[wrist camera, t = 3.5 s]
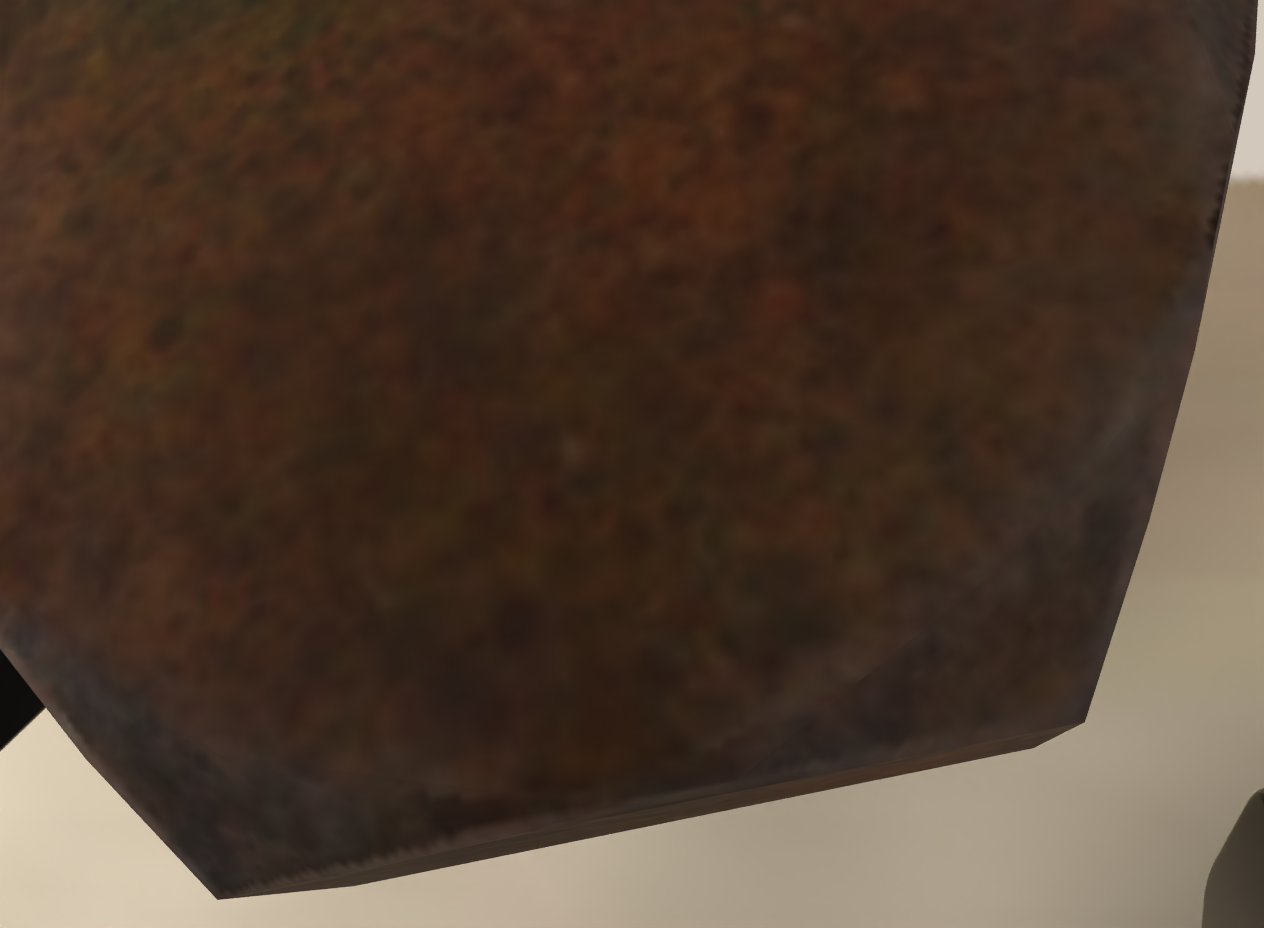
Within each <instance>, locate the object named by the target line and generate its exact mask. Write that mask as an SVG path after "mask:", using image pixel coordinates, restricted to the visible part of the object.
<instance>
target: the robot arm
mask: <svg viewBox="0 0 1264 928" xmlns="http://www.w3.org/2000/svg"><path fill="white" fill-rule="evenodd" d="M45 708H46V707H45V706H44V704H43V703H42V702H41V701H40V699H39V698H38V697H37V695H36V694H35V693H34V692H33V690H32V689H31V688H30V686H29V685H28V684H27V683H26V681H25V680H24V679H23V677H22V676H21V675H20V674H19V672H18V671H17V670H16V668H15V667H14V666H13V665H12V663H11V662H10V661H9V659H8V658H7V657H6V656H5V654H4V653H3V652H2V650H1V649H0V751H1V750H2V749H4V748H5V747H6V746H7V745H8V744H9V743H10V742H11V741H12V740H13V739H14V738H15V737H16V736H17V735H18V734H19V733H20V732H21V731H22V730H23V729H24V728H25V727H26V726H28V725H29V724H30V723H31V722H32V721H33V720H34V719H35V718H36V717H37V716H38V715H39V714H40V713H41V712H42V711H43V710H44V709H45ZM1202 928H1264V789H1261V790H1258V791H1257V792H1256V793H1255V794H1254V795H1253V796H1252V797H1251V798H1250V799H1249V801H1248V802H1247V804H1246V806H1245V808H1244V810H1243V811H1242V813H1241V815H1240V817H1239V819H1238V820H1237V822H1236V824H1235V826H1234V828H1233V829H1232V831H1231V833H1230V835H1229V837H1228V838H1227V840H1226V842H1225V844H1224V846H1223V847H1222V849H1221V851H1220V853H1219V855H1218V856H1217V858H1216V860H1215V862H1214V864H1213V866H1212V868H1211V871H1210V874H1209V877H1208V880H1207V884H1206V889H1205V895H1204V904H1203V916H1202Z"/></svg>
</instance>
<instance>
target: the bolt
mask: <svg viewBox="0 0 1264 928" xmlns="http://www.w3.org/2000/svg"><path fill="white" fill-rule="evenodd" d="M1257 7H1258V0H0V649H1V650H2V652H3V653H4V654H5V656H6V657H7V658H8V659H9V661H10V662H11V663H12V665H13V666H14V667H15V668H16V670H17V671H18V672H19V674H20V675H21V676H22V677H23V679H24V680H25V681H26V683H27V684H28V685H29V686H30V688H31V689H32V690H33V692H34V693H35V694H36V695H37V697H38V698H39V699H40V701H41V702H42V703H43V704H44V706H45V707H46V708H47V710H48V711H49V712H50V713H51V715H52V716H53V717H54V719H55V720H56V721H57V722H58V724H59V725H60V726H61V728H62V729H63V730H64V731H65V733H66V734H67V735H68V737H69V738H70V739H71V740H72V742H73V743H74V744H75V746H76V747H77V748H78V749H79V751H80V752H81V753H82V755H83V756H84V757H85V758H86V760H87V761H88V762H89V763H90V764H91V765H92V766H93V767H94V768H95V769H96V770H97V771H98V772H99V773H100V775H101V776H102V777H103V778H104V779H105V780H106V781H107V782H108V783H109V784H110V785H111V786H112V787H113V788H114V789H115V791H116V792H117V793H118V794H119V795H120V796H121V797H122V798H123V799H124V800H125V801H126V802H127V803H128V804H129V806H130V807H131V808H132V809H133V810H134V811H135V812H136V813H137V814H138V815H139V816H140V817H141V818H142V819H143V821H144V822H145V823H146V824H147V825H148V826H149V827H150V828H151V829H152V830H153V831H154V832H155V833H156V834H157V835H158V837H159V838H160V839H161V840H162V841H163V842H164V843H165V844H166V845H167V846H168V847H169V848H170V849H171V850H172V852H173V853H174V854H175V855H176V856H177V857H178V858H179V859H180V860H181V861H182V862H183V863H184V864H185V865H186V867H187V868H188V869H189V870H190V871H191V872H192V873H193V874H194V875H195V876H196V877H197V878H198V879H199V880H200V881H201V883H202V884H203V885H204V886H205V887H206V888H207V889H208V890H209V891H210V892H211V893H212V894H213V895H214V896H215V898H216V899H217V900H220V899H230V898H240V897H250V896H260V895H270V894H280V893H289V892H299V891H309V890H319V889H329V888H339V887H349V886H356V885H361V884H366V883H371V882H376V881H381V880H386V879H391V878H396V877H401V876H406V875H411V874H415V873H420V872H425V871H430V870H435V869H440V868H445V867H450V866H455V865H460V864H465V863H470V862H475V861H479V860H484V859H489V858H494V857H499V856H504V855H509V854H514V853H519V852H524V851H529V850H534V849H539V848H543V847H548V846H553V845H558V844H563V843H568V842H573V841H578V840H583V839H588V838H593V837H598V836H603V835H607V834H612V833H617V832H622V831H627V830H632V829H637V828H642V827H647V826H652V825H657V824H662V823H667V822H671V821H676V820H681V819H686V818H691V817H696V816H701V815H706V814H711V813H716V812H721V811H726V810H731V809H735V808H740V807H745V806H750V805H755V804H760V803H765V802H770V801H775V800H780V799H785V798H790V797H795V796H799V795H804V794H809V793H814V792H819V791H824V790H829V789H834V788H839V787H844V786H849V785H854V784H859V783H863V782H868V781H873V780H878V779H883V778H888V777H893V776H898V775H903V774H908V773H913V772H918V771H923V770H927V769H932V768H937V767H942V766H947V765H952V764H957V763H962V762H967V761H972V760H977V759H982V758H987V757H991V756H996V755H1001V754H1006V753H1011V752H1016V751H1021V750H1026V749H1031V748H1034V747H1036V746H1038V745H1040V744H1042V743H1044V742H1046V741H1048V740H1050V739H1052V738H1054V737H1056V736H1058V735H1060V734H1062V733H1064V732H1066V731H1068V730H1070V729H1072V728H1074V727H1076V726H1078V725H1080V724H1082V723H1084V722H1085V720H1086V717H1087V713H1088V710H1089V707H1090V704H1091V701H1092V698H1093V695H1094V691H1095V688H1096V685H1097V682H1098V679H1099V676H1100V673H1101V670H1102V666H1103V663H1104V660H1105V657H1106V654H1107V651H1108V648H1109V644H1110V641H1111V638H1112V635H1113V632H1114V629H1115V626H1116V623H1117V619H1118V616H1119V613H1120V610H1121V607H1122V604H1123V601H1124V597H1125V594H1126V591H1127V588H1128V585H1129V582H1130V579H1131V576H1132V572H1133V569H1134V566H1135V563H1136V560H1137V557H1138V554H1139V550H1140V547H1141V544H1142V541H1143V538H1144V535H1145V532H1146V529H1147V525H1148V522H1149V519H1150V515H1151V512H1152V508H1153V504H1154V500H1155V497H1156V493H1157V489H1158V485H1159V482H1160V478H1161V474H1162V471H1163V467H1164V463H1165V459H1166V456H1167V452H1168V448H1169V444H1170V441H1171V437H1172V433H1173V429H1174V426H1175V422H1176V418H1177V415H1178V411H1179V407H1180V403H1181V400H1182V396H1183V392H1184V388H1185V385H1186V381H1187V377H1188V373H1189V370H1190V366H1191V362H1192V359H1193V355H1194V351H1195V346H1196V341H1197V336H1198V331H1199V326H1200V322H1201V317H1202V312H1203V307H1204V302H1205V297H1206V292H1207V287H1208V282H1209V277H1210V272H1211V267H1212V262H1213V257H1214V253H1215V248H1216V243H1217V238H1218V233H1219V228H1220V223H1221V218H1222V213H1223V208H1224V203H1225V198H1226V193H1227V189H1228V184H1229V179H1230V174H1231V169H1232V164H1233V158H1234V154H1235V149H1236V144H1237V139H1238V134H1239V129H1240V124H1241V119H1242V115H1243V109H1244V105H1245V100H1246V95H1247V90H1248V85H1249V80H1250V75H1251V70H1252V65H1253V60H1254V55H1255V42H1256V25H1257V24H1256V23H1257Z"/></svg>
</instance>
